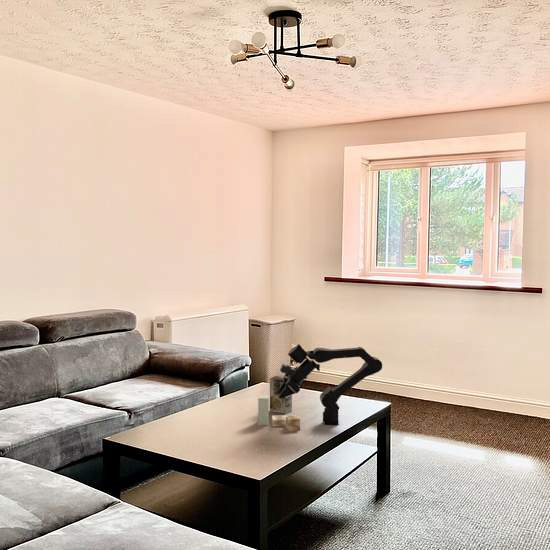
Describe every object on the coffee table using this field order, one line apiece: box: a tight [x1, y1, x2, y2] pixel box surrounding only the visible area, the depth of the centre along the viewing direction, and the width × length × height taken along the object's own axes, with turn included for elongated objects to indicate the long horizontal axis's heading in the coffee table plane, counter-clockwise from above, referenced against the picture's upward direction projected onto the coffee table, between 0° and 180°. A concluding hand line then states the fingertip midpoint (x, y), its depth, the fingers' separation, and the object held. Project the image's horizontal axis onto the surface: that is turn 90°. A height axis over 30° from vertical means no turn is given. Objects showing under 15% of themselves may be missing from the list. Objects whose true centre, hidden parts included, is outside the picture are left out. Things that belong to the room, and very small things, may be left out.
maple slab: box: [271, 414, 289, 427], centre depth 264 cm, size 7×7×3 cm
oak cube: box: [285, 415, 301, 431], centre depth 257 cm, size 5×5×5 cm
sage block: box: [257, 395, 270, 426], centre depth 263 cm, size 4×4×12 cm
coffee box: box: [269, 375, 293, 415], centre depth 283 cm, size 9×6×16 cm
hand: (278, 395), depth 263 cm, fingers open, 9 cm apart
